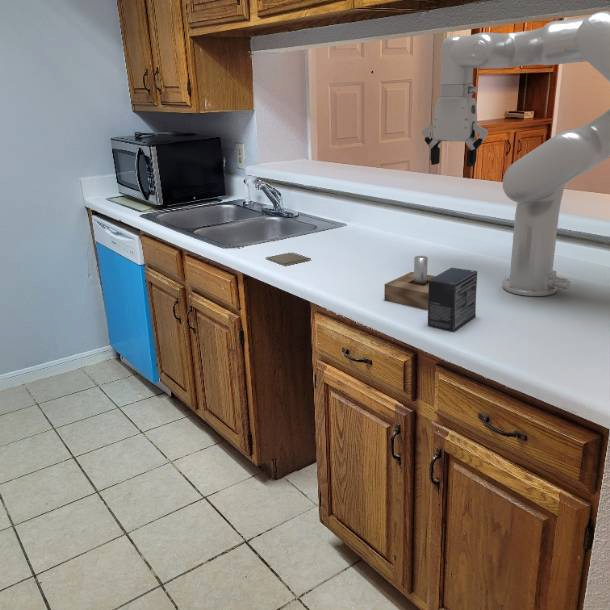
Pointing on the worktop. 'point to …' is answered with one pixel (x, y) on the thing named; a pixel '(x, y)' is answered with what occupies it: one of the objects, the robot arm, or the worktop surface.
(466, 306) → the small box
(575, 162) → the robot arm
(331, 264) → the worktop surface
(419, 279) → the pin
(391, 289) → the socket block
